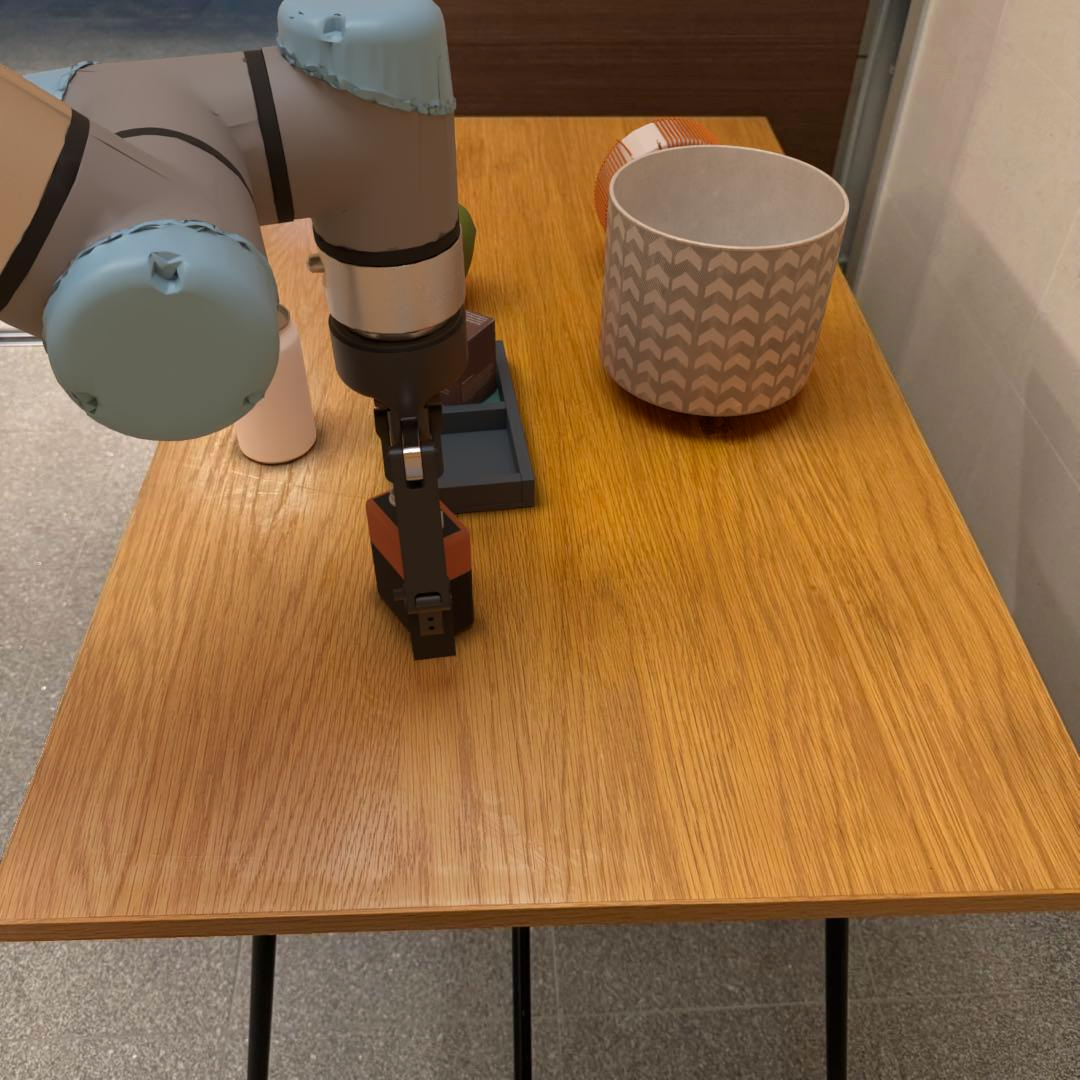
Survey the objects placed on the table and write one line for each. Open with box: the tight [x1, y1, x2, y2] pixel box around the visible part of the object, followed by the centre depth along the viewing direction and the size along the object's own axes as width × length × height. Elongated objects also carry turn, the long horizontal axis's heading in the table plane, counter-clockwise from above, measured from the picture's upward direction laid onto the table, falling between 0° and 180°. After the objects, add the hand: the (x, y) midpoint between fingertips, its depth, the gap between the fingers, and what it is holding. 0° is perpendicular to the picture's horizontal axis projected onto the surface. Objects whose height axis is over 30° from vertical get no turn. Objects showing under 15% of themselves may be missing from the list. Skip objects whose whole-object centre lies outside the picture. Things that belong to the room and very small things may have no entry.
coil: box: [593, 116, 723, 234], centre depth 103 cm, size 7×15×15 cm, turn 100°
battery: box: [364, 486, 475, 635], centre depth 67 cm, size 4×7×10 cm, turn 36°
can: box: [233, 302, 317, 465], centre depth 81 cm, size 6×6×12 cm
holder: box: [430, 339, 536, 515], centre depth 85 cm, size 11×20×3 cm, turn 9°
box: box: [437, 308, 497, 406], centre depth 86 cm, size 6×6×7 cm
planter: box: [598, 144, 850, 417], centre depth 86 cm, size 19×19×18 cm
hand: (427, 579), depth 69 cm, fingers open, 13 cm apart
